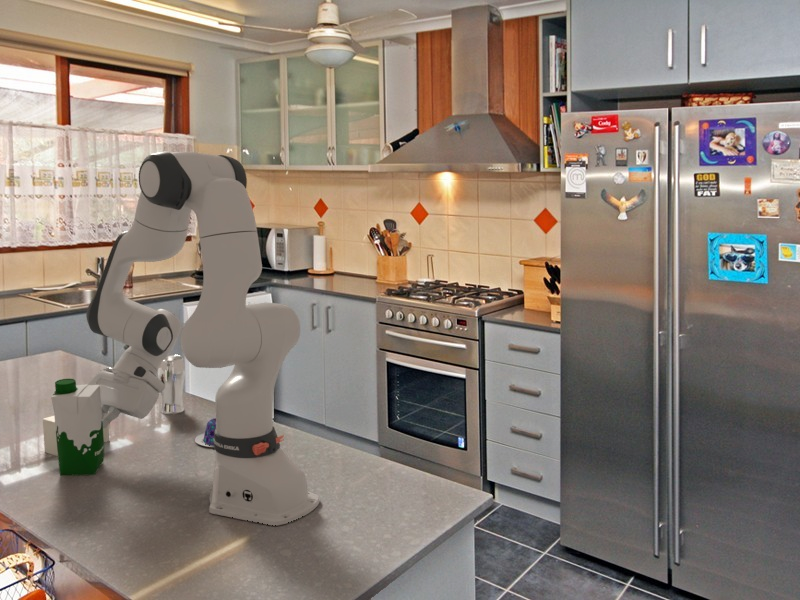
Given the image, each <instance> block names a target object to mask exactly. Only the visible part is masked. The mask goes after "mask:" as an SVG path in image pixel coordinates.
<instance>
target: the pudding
mask: <svg viewBox="0 0 800 600" xmlns="http://www.w3.org/2000/svg"><path fill="white" fill-rule="evenodd" d="M215 429H216V417H215V418H211V419H210V420H208V421H207V423H206V427H205V430H204V432H203V433H201V434H199V435H197V436H196V437H195V439H194V440H195V441H194V442H195V443H196V444H197V445H200V446H203V447H207V448H208V447H209V448H214V431H215ZM203 438H204V439H203ZM202 439H203V441H204V442H203V443H202V442H201V441H202ZM205 444H206V445H205ZM207 444H208V445H207ZM209 445H210V446H209Z"/></svg>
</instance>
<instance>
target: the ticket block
mask: <svg viewBox="0 0 800 600" xmlns="http://www.w3.org/2000/svg"><path fill="white" fill-rule="evenodd" d="M107 413H109V411H108V412H107ZM107 413H105V415H106V414H107ZM105 415H104V416H105ZM109 425H110V423H109V424H108V426H107V427H106V428H103V436H104V442H105V443H107V441H108V442H110V426H109ZM42 428H43V429H42V432H43V442H44V443H43V446H44V453H46V454H49V455H53V456H56V457H58V451H57V440H56V428H55V416H54V415H51V416H48V417H45V418H44V417H43V418H42Z"/></svg>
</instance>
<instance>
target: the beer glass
mask: <svg viewBox="0 0 800 600" xmlns="http://www.w3.org/2000/svg"><path fill="white" fill-rule="evenodd" d="M185 375H186V374H185V362H184V355H183V356H182V355H178V354H171V355H170V354H169V355H168V356H167V358H166V359H164V360H163V361H162V362H161V364H160V366H159V369H158V372H157V378H158V379H159V380H161V381H162V382H163V383H164V384H165V388H164V390H163V391H162V392H161V393H160V394H161V405H160V406H161V408H160V413H161V414H163V415H177V414H182V413H183V412H184V411H185V408H184V407H185V406H184V404H183V391H184V386H185Z"/></svg>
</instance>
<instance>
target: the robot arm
mask: <svg viewBox="0 0 800 600" xmlns="http://www.w3.org/2000/svg"><path fill="white" fill-rule="evenodd" d="M141 162H142V163H141V165H140V167H139V169H138V170H139V172H138V184H139V185H138V186H139V188H140V193H139V197H138V201H137V203H136V208H135V213H134V218H133V222H132V225H131V227H130V228H129V229H128V230H124V231H123V232H121V233H120V234H118V236H117V238H116V239H115V241H114V242H113V245H112V247H111V250H110V252H109V255H108V258H107V260H106V263H105V266H104V268H103V272H102V275H101V277H100V280H99V283H98V286H97V289H96V291H95V293H94V295H93V297H92V299H91V301H90V302H89V305H88V307H87V309H86V315H85V316H86V322H87V324H88V326H89V329H90V330H91V332H92V333H94V334H98V335H100V336H103V337H107V338H110V339H112V340H115V341H117V342H120V343H122V344H123V345H126V346H129V347H128V348H126V349H125V350H124V351H123V353H122V354H121V355H120V357H119V358H118V360H117V361H116V363H115V364H114V365H113V367H109V366H107V367H105V368H103V369H101V370H100V371H98V372H96V373H95V374H94V375H93V377H92V378H90V380H89V381H88V382H87V384H88V385H100V394H101V408H102V422H103V428H106V427H107V426H108V424H109V425H110V423H111V422H112V421H114V420H115V419H117V418H118V417H119V416H120V414H124V415H127V416H130V417H134V418H137V419H140V420H142V419H144V418H146V417H147V416H148V415H149V414H150V412H151V411H152V410H153V408H154V406H155V404H156V403H157V401H158V399H159V397H160V394H161V392H162V391H163V390H164V388H165V384H164V383H163V382H162V381H161V380H159V379H158V376H157V374H158V369H159V366H160V364H161V362H162V361H163V360H164V359H166V358H167V356H168V355H170V353H171V352H172V350H173V348H174V346H175V345H176V343H177V341H178V339H179V343H180V348H181V352H182V354H183V357H185V359H186V360H187V361H188V362H189V363H190V364H191V365H192V366H194V367H196V368H200V369H201V368H202V369H203V368H206V369H211V368H212V369H221V368H227V367H230V366H231V367H232V366H233V368H232V371H231V373H230V374H229V376H228V377H227V378H226V379H225V381H224V382H222V383H221V385H220V386H219V387H218V389H217V391H216V392H215V403H214V404H215V418H216V429H215V431H214V447H213V448H214V450H215V462H214V470H213V479H212V485H211V490H210V494H209V498H208V500H209V503H210V504H209V511H208V512H209V513H210V514H213V515H216V516H217V515H218V516H222V517H228V518H232V517H233V518H232V519H236V520H237V519H238V520H242V521H247V520H248V521H247V522H252V521H253V523H257V522H259V523H258V524H262V523H263V525H267V524H268V526H272V525H273V526H275V525H276V526H282V525H286V524H289V523H292V522H294V521H293V520H295V521H297V520H299V519H301V518H302V516H303V517H304V516H307V515H308V514H310V513H312V511H315V509H316V508H317V507H318V506H319V504H320V500H321V499H320V496H319V495H318V494H316V493H314V492H311V491H309V490H308V482H307V481H308V480H307V477H306V474H305V472H304V471H303V470H302V469H301V468H300V467H299V465H298V464H297V463H295V462H294V461H293V460H292V459H291V458H290V457H289V456H288V455H287V453H286V452H285V451H284V450H283V449H281V444H280V442H283V441H285V439H283V438H284V436H285V435H279V436H278V434H277V431H276V429H275V427H274V426H273V423H274V422H273V421H274V417H273V416H274V412H273V410H274V393H275V386H276V382H277V379H278V376H279V373H280V369H281V367H282V365H283V363H284V361H285V359H286V357H287V356H288V354H289V353H290V352H291V350H292V349H293V348H294V347H295V346H296V345H297V343H298V342H299V340H300V336H301V323H300V319H299V316H298V315H297V313H296V311H295V310H294V309H293V308H292V307H291V306H289V305H287V304H284V303H277V302H260V303H253V304H247V301H246V300H247V296H248V292H249V289H250V287H251V285H252V284H253V283H254V282H256V281H257V280H258V279H259V277H260V276H261V274H262V270H263V264H262V256H261V250H260V249H261V247H260V241H259V235H258V227H257V223H256V218H255V213H254V209H253V205H252V203H251V199H250V196H249V194H248V190H247V184H248V183H247V181H248V180H247V174H246V170H245V168H244V166H243V165H242V163H241V162H240V161H239V160H238V159H236V158H233V157H231V156H228V155H224V154H218V155H217V154H210V153H203V152H198V151H197V152H196V151H174V152H169V151H160V152H155V153H151V154H149V155H147V156H146V157H145V158H144V159H143V160H142V161H141ZM192 211H193V212H194V214H195V216H196V220H197V230H198V238H199V244H200V245H199V246H200V251H201V252H200V253H201V261H202V262H201V263H202V271H203V272H202V273H203V280H202V289H201V294H200V297H199V301H198V303H197V306H196V308H195V309H194V311H193V313H192V314H191V315H190V317H188V318H187V320H186V321H185V323H184V324H183V325H182V322H181V320H180V319H179V318H178V316H177V315H175V314H174V313H172V311H169V310H167V309H163V308H158V309H154V308H153V307H149V306H148V305H143V304H141V303H139V302H137V301H134V300H132V299H130V298H128V297H127V296H126V295H125V294H124V292H123V290H124V287H125V285H126V282H127V279H128V276H129V273H130V271H131V268H132V265H133V264H134V263H136V262H138V263H139V262H140V263H141V262H144V263H145V262H147V263H152V262H153V263H155V262H162V261H165V260H169V259H171V258H173V257H174V256H177V254H178V253H180V252H181V250H182V249H183V247H184V246H185V243H186V239H187V235H188V231H189V226H190V219H191V212H192ZM159 393H160V394H159ZM107 412H108V413H107ZM105 413H107V414H106V415H105ZM104 415H105V416H104ZM298 518H299V519H298ZM296 519H297V520H296ZM291 521H292V522H291ZM288 522H289V523H288ZM276 526H275V527H276Z"/></svg>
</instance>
